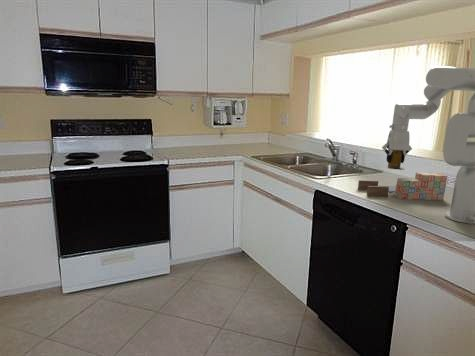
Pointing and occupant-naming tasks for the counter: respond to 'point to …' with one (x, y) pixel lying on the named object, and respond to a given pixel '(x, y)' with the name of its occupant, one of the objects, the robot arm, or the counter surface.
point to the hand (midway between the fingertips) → (395, 162)
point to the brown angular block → (373, 188)
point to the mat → (392, 188)
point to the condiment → (395, 160)
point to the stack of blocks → (422, 186)
